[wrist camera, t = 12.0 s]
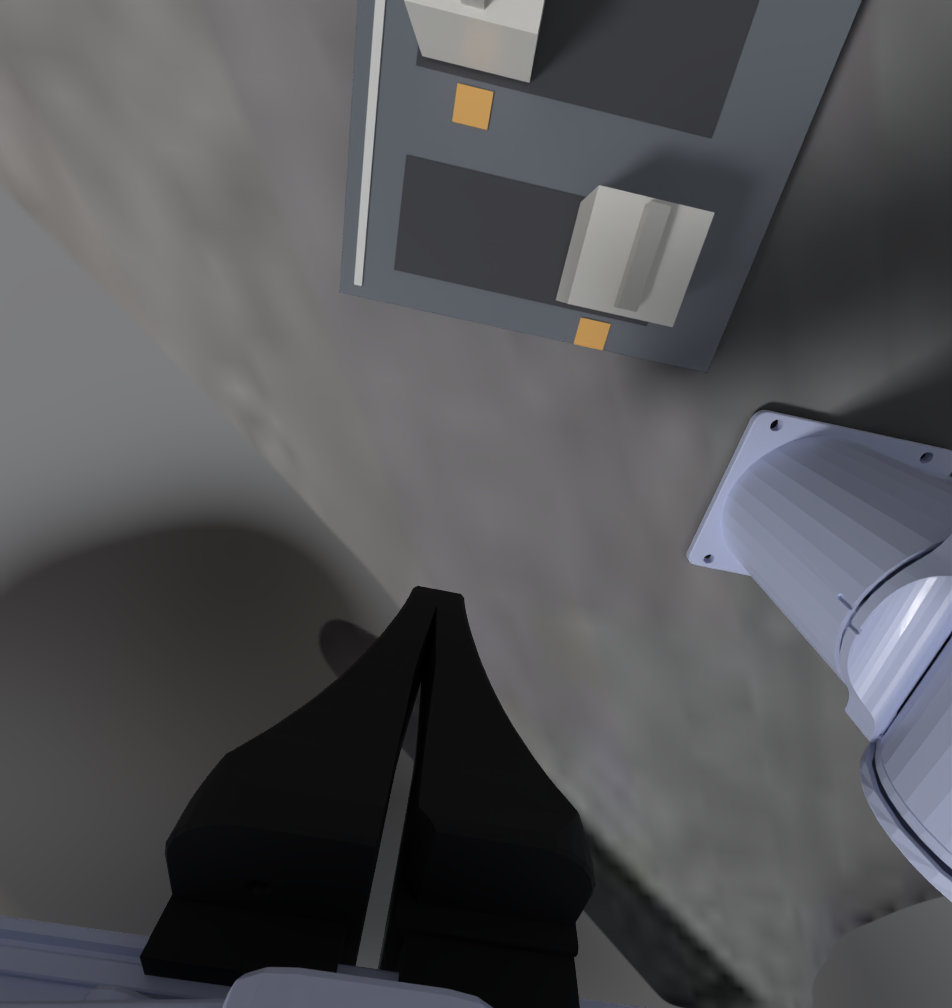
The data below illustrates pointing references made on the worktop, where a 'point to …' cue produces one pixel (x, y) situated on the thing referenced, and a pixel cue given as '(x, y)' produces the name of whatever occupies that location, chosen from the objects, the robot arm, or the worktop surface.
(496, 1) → the tab
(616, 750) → the worktop surface
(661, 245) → the light grey block
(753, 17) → the switch bank
